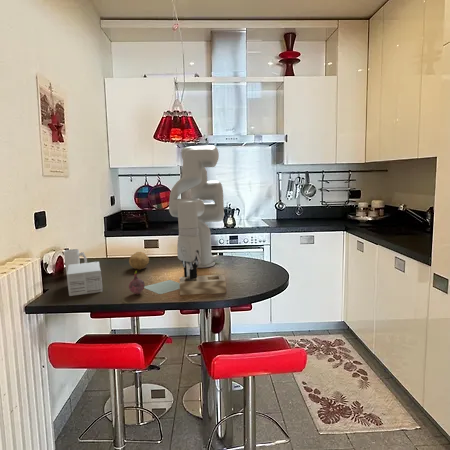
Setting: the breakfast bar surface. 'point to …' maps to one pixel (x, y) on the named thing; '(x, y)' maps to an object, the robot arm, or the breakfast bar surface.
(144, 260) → the potato
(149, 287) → the mat
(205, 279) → the hole block
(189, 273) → the pin
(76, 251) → the mug
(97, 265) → the supplement box
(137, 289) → the vegetable
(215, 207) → the robot arm
